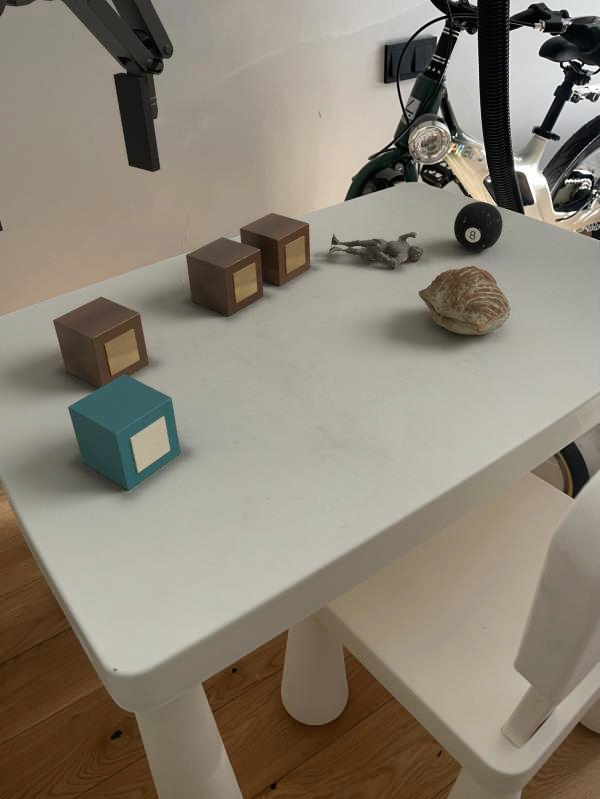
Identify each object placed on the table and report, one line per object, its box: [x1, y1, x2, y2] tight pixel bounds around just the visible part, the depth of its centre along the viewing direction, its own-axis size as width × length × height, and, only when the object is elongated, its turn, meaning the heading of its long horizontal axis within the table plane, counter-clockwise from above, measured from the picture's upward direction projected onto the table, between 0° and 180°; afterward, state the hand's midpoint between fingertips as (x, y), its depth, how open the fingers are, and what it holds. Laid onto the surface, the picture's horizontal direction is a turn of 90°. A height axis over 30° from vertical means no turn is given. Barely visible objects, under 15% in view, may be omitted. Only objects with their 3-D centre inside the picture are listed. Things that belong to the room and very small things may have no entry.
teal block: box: [67, 374, 181, 491], centre depth 62 cm, size 6×6×6 cm
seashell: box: [418, 265, 511, 336], centre depth 78 cm, size 9×7×8 cm
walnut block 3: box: [239, 212, 311, 287], centre depth 90 cm, size 6×6×6 cm
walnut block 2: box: [185, 236, 264, 317], centre depth 85 cm, size 6×6×6 cm
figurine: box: [328, 231, 425, 269], centre depth 93 cm, size 6×4×12 cm
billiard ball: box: [453, 201, 504, 252], centre depth 94 cm, size 6×6×6 cm
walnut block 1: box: [52, 296, 150, 389], centre depth 74 cm, size 6×6×6 cm
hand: (71, 195), depth 51 cm, fingers open, 13 cm apart
